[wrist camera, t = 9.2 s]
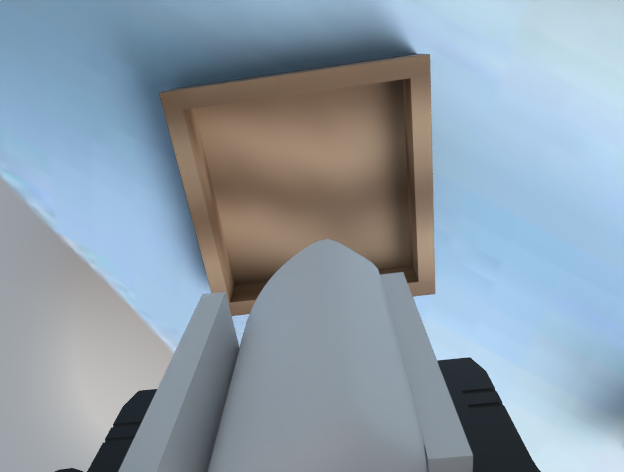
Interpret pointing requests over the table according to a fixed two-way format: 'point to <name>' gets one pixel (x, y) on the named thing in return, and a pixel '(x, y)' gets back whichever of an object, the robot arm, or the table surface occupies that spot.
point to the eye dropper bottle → (320, 375)
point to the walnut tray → (308, 170)
